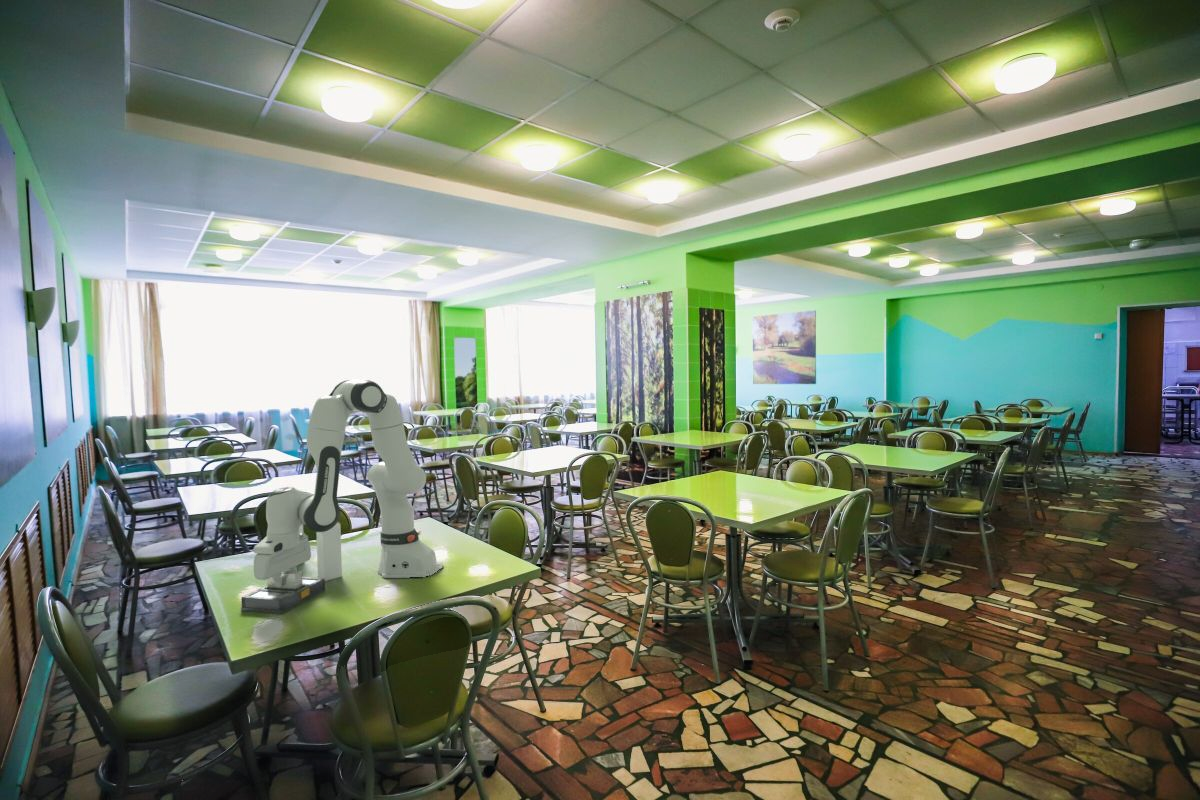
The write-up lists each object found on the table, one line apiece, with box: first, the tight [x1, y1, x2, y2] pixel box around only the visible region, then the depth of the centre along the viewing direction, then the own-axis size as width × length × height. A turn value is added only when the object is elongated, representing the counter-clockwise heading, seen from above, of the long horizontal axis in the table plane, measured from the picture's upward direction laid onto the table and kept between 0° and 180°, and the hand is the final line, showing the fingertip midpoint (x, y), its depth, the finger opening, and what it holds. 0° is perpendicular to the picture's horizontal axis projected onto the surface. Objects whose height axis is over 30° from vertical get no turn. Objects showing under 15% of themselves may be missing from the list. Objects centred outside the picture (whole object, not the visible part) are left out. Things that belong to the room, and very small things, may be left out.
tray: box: [240, 576, 326, 615], centre depth 177 cm, size 15×19×4 cm
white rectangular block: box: [266, 570, 303, 591], centre depth 177 cm, size 10×3×6 cm, turn 79°
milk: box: [315, 521, 343, 582], centre depth 197 cm, size 6×6×22 cm
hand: (285, 583), depth 177 cm, fingers closed on white rectangular block, 3 cm apart
